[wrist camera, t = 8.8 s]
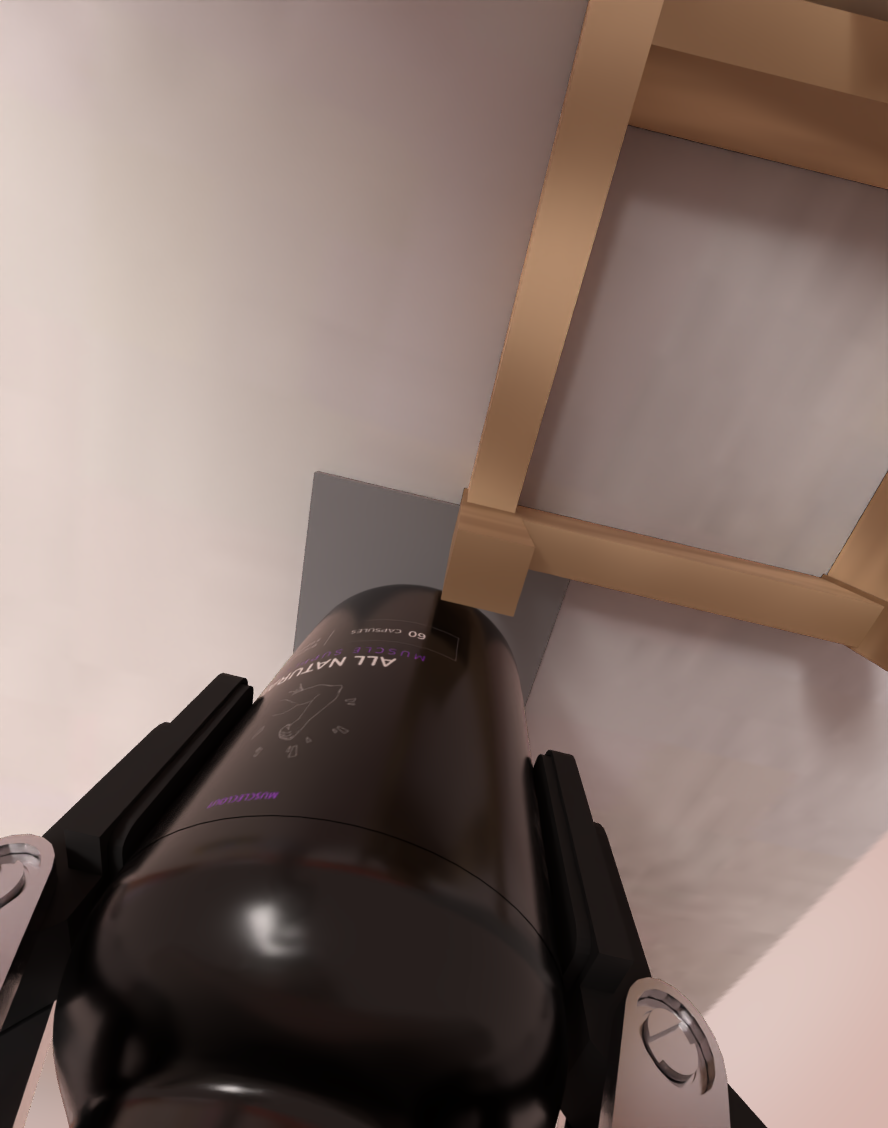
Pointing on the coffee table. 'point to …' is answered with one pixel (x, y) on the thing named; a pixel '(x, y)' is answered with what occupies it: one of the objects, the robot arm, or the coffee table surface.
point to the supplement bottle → (336, 905)
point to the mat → (404, 561)
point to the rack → (559, 259)
